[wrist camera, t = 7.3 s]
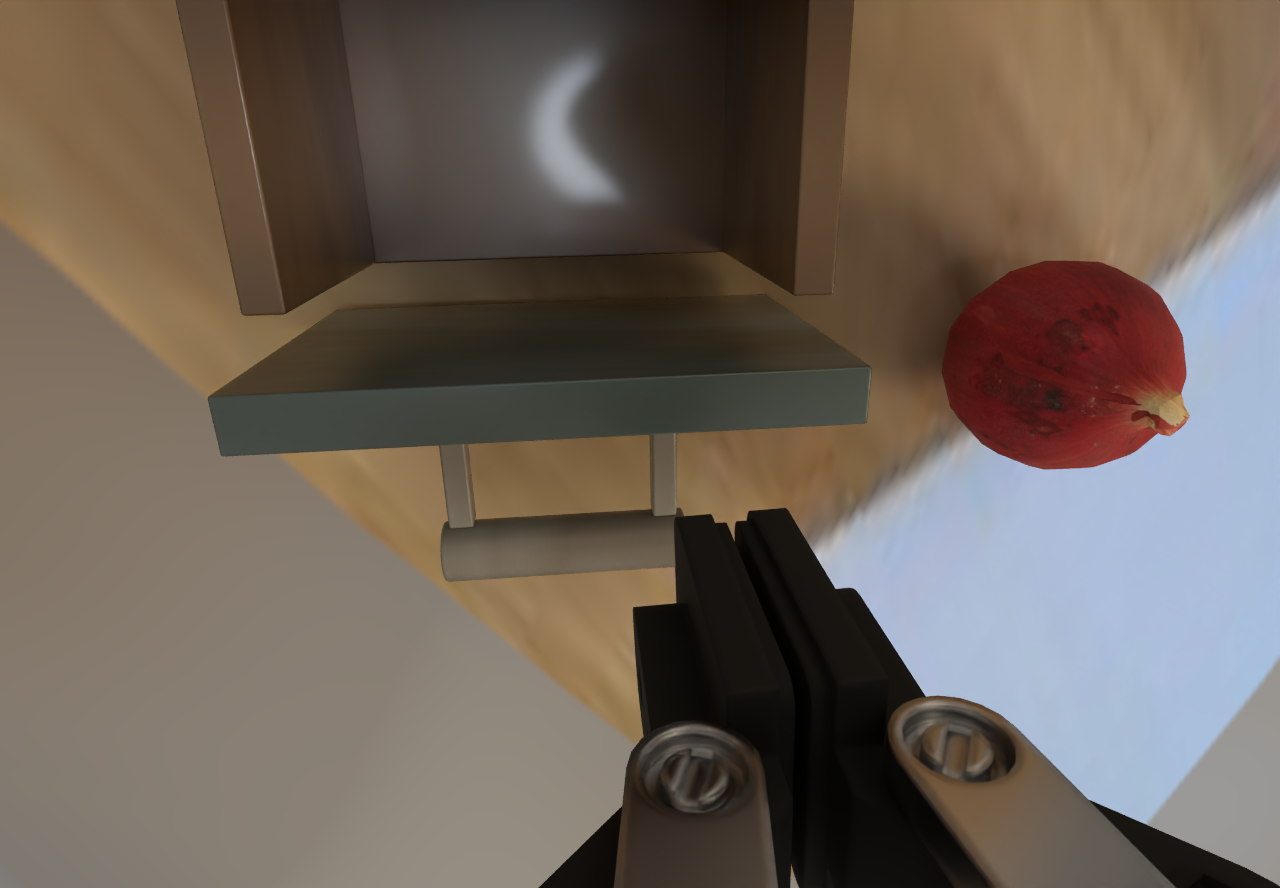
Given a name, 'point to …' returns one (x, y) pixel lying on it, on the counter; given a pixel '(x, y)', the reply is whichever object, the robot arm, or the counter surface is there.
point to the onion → (1066, 365)
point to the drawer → (528, 232)
